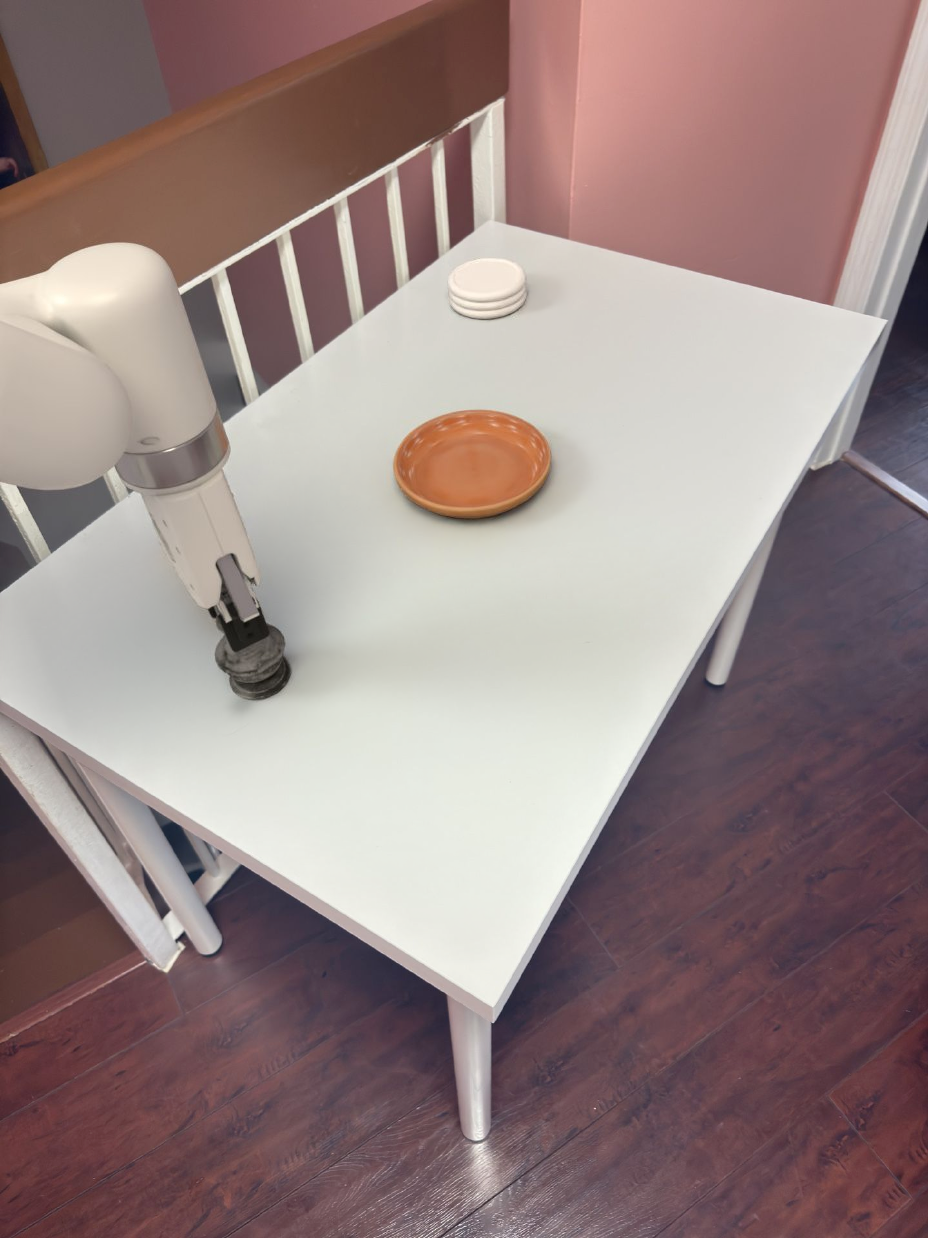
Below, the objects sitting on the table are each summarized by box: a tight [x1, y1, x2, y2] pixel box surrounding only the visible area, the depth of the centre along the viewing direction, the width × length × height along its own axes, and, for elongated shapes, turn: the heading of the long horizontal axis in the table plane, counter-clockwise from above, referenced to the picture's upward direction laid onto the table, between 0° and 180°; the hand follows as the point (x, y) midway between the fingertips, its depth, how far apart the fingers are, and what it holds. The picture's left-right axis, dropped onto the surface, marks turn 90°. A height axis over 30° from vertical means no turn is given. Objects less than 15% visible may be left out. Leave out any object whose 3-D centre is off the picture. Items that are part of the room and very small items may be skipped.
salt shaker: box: [214, 593, 292, 701], centre depth 74 cm, size 6×6×12 cm
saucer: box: [392, 409, 552, 519], centre depth 93 cm, size 16×16×3 cm
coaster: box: [447, 257, 528, 320], centre depth 117 cm, size 10×10×4 cm
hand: (239, 624), depth 73 cm, fingers closed on salt shaker, 3 cm apart
